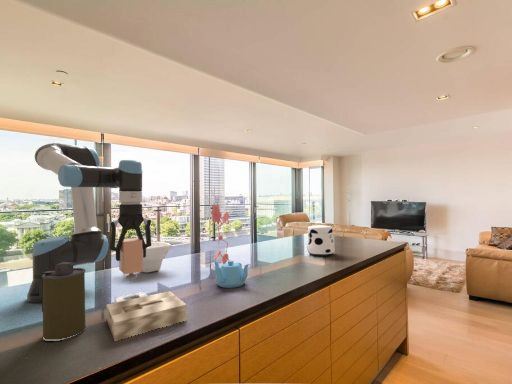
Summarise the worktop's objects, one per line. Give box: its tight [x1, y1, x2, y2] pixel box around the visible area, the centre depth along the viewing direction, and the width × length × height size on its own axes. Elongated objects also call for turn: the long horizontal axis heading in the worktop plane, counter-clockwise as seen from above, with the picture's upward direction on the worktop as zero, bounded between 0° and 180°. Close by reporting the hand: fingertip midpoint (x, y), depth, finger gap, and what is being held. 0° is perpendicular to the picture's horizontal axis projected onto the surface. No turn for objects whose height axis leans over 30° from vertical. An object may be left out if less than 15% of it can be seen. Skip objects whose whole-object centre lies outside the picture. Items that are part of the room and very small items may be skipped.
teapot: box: [212, 258, 251, 289], centre depth 121 cm, size 15×15×10 cm
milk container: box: [306, 224, 336, 257], centre depth 178 cm, size 17×17×18 cm
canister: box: [41, 262, 87, 339], centre depth 80 cm, size 11×10×20 cm
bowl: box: [143, 241, 172, 273], centre depth 147 cm, size 19×19×14 cm
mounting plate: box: [106, 290, 188, 342], centre depth 86 cm, size 20×16×5 cm
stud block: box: [120, 237, 144, 281], centre depth 99 cm, size 6×7×14 cm
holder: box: [114, 291, 148, 303], centre depth 98 cm, size 10×10×3 cm
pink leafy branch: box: [207, 203, 231, 268], centre depth 161 cm, size 15×26×35 cm, turn 32°
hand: (131, 268), depth 99 cm, fingers closed on stud block, 6 cm apart
